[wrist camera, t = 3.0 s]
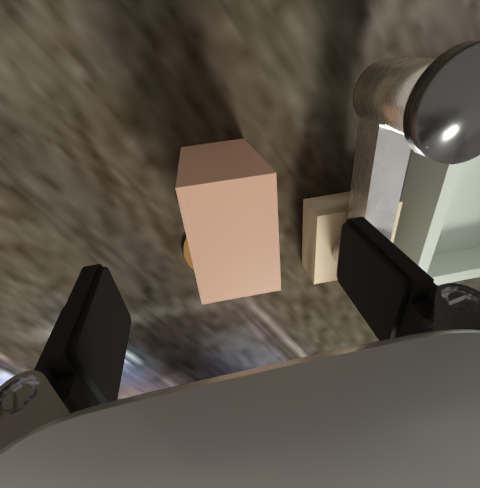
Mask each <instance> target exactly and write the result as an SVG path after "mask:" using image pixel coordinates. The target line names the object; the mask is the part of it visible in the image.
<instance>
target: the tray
mask: <svg viewBox="0 0 480 488" xmlns="http://www.w3.org/2000/svg"><path fill="white" fill-rule="evenodd" d="M401 201H402V202H403V203H402V208H401V212H400V216H399V220H398V225H397V229H396V233H395V238H394V242H393V244H395V245H396V246H397V247H398V248H399V249H400V250H401V251H402V252H404V253H405V254H406V255H407V256H408V257H409V258H410V259H412V260H413V261H414V262H415V263H416V264H417V265H418V266H419V267H421V268H422V269H423V270H424V271H425V272H426V273H427V274H428V275H430V276H431V277H432V278H433V279H434V283H435V284H436V285H441V284H446V283H451V282H456V281H461V280H466V279H471V278H476V277H480V155H479V156H477V157H475V158H473V159H471V160H469V161H466V162H463V163H458V164H443V163H439V162H437V161H434V160H432V159H429V158H427V157H424V156H422V155H420V154H417V153H416V152H414V151H413V150H412V151H411V156H410V160H409V165H408V169H407V173H406V178H405V182H404V187H403V191H402V195H401Z"/></svg>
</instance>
